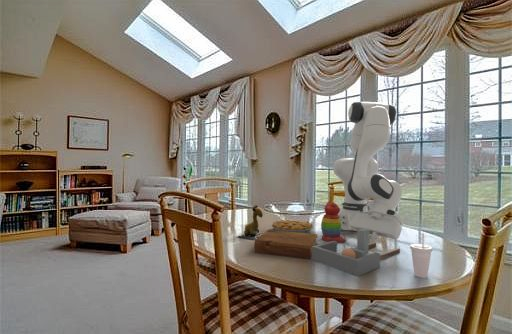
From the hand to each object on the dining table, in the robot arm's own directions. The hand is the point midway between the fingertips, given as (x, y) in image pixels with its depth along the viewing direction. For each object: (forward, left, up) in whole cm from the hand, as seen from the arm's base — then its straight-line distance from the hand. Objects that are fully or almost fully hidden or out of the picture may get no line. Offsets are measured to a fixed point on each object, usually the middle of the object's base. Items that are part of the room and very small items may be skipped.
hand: (366, 242), depth 113 cm
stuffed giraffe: (-53, -17, -6) cm, 56 cm away
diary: (-25, -19, -6) cm, 32 cm away
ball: (0, -11, -3) cm, 12 cm away
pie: (-46, +4, -6) cm, 47 cm away
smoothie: (+22, -3, -6) cm, 23 cm away
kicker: (0, -2, -6) cm, 6 cm away
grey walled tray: (0, -13, -6) cm, 14 cm away
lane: (0, +4, -6) cm, 7 cm away
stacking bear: (-23, +8, -6) cm, 25 cm away
